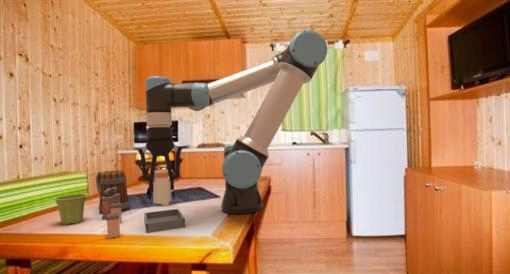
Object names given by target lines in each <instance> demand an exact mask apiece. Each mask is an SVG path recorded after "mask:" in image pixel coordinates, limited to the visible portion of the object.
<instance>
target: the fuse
mask: <svg viewBox="0 0 510 274" xmlns="http://www.w3.org/2000/svg"><path fill="white" fill-rule="evenodd" d="M154 174H155V175H154V181H156V203H155V204H157V205H158V204H161V203H169V204H170V201H169V196H168V176H169V175H168V170H167V168H166V169H164V170H162V169H155V173H154Z"/></svg>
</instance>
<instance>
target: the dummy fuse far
mask: <svg viewBox="0 0 510 274" xmlns="http://www.w3.org/2000/svg"><path fill="white" fill-rule="evenodd" d="M110 209H111V214H114V213H120V217H119V221H120V224H122V223H121V222H123V221H122V219H123V217H122V212H121V203H114V204H111V205H110Z"/></svg>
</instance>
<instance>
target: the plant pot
mask: <svg viewBox="0 0 510 274" xmlns="http://www.w3.org/2000/svg"><path fill="white" fill-rule="evenodd" d="M87 195H88V194H87V193H76V194H75V193H74V194H65V195H61V196H57V197H55V198H54V201H55V203H56V205H57V208H58V213H59V216H60V222H61V225H69V224H77V223H80V222H82V221H83V220H84V213H85V212H84V209H85V201H86V198H87Z"/></svg>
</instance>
